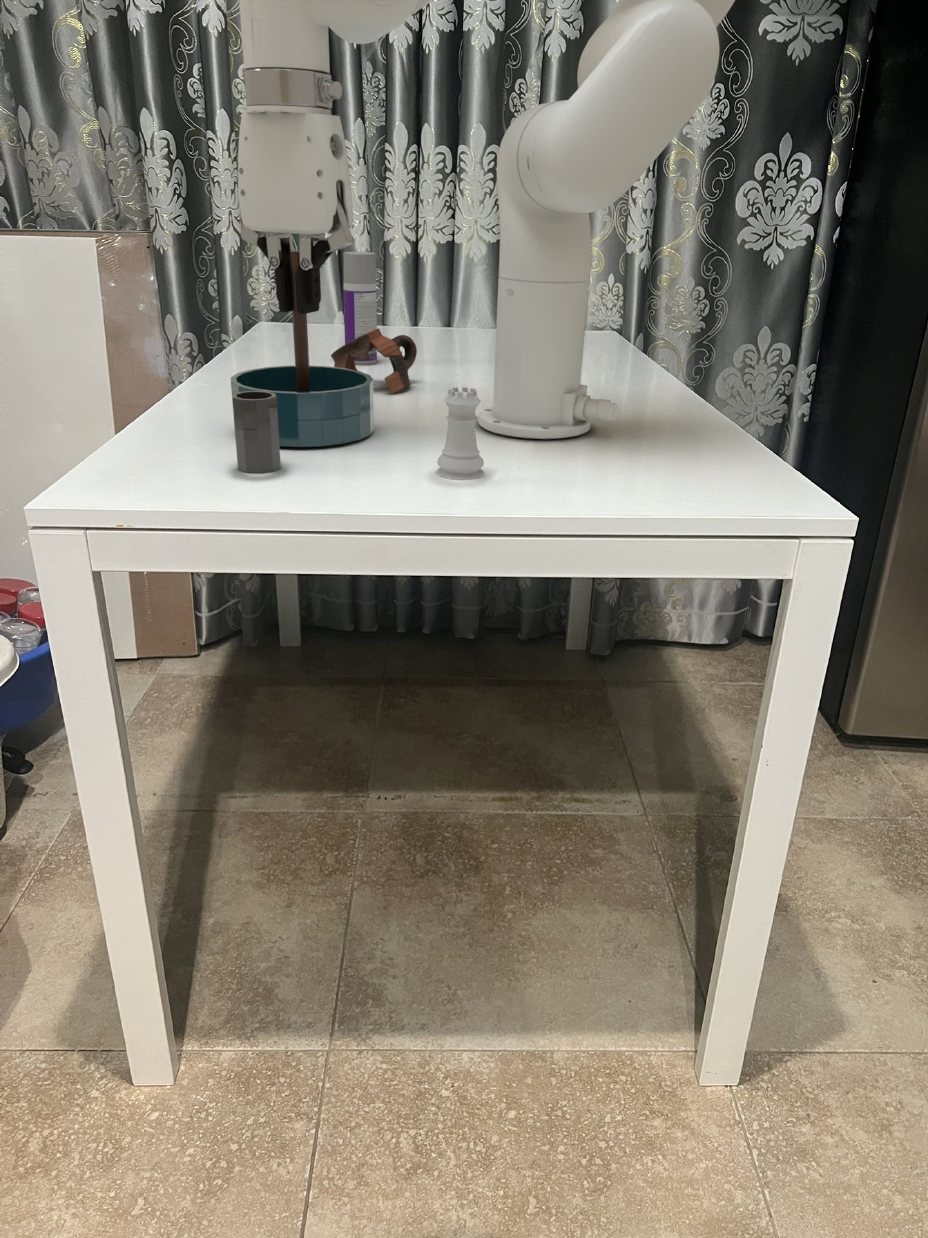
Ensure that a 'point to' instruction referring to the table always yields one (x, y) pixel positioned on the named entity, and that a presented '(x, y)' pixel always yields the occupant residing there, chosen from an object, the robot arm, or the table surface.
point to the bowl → (315, 403)
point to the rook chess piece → (461, 437)
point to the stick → (299, 331)
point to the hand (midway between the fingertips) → (299, 310)
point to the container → (360, 298)
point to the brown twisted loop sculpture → (387, 348)
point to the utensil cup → (256, 431)
